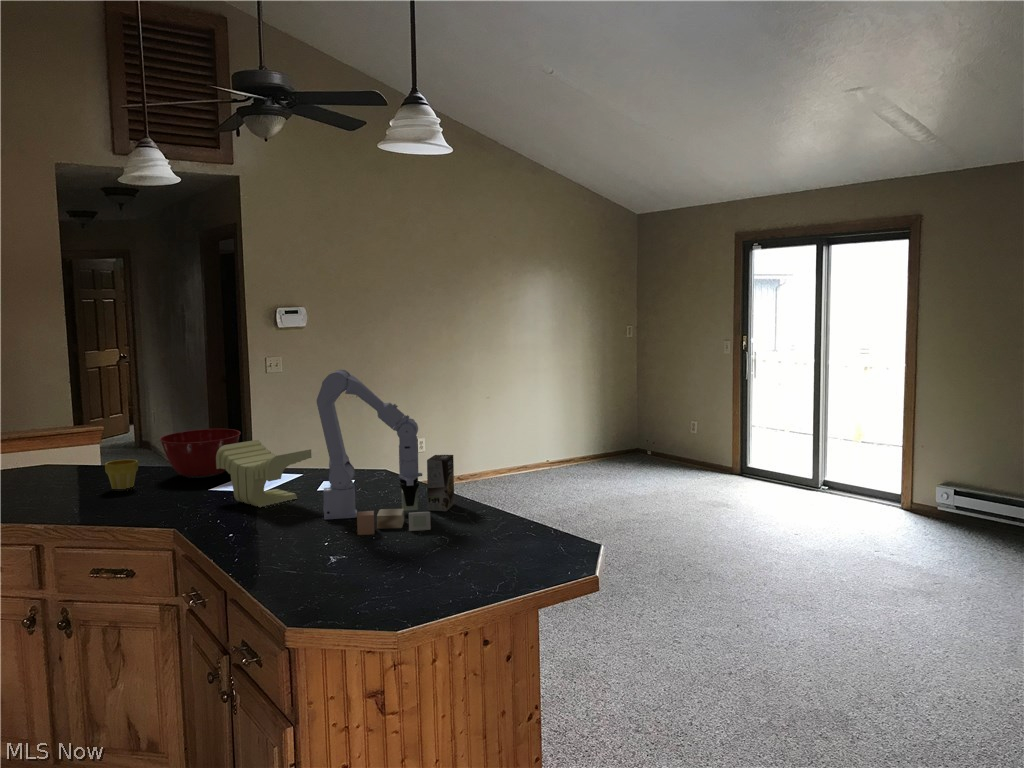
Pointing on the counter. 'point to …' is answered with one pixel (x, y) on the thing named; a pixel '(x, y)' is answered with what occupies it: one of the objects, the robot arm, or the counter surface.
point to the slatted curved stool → (256, 471)
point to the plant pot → (121, 473)
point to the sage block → (409, 506)
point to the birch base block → (390, 518)
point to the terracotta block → (365, 522)
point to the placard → (419, 521)
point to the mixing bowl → (197, 450)
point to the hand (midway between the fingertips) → (409, 503)
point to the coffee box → (440, 482)
